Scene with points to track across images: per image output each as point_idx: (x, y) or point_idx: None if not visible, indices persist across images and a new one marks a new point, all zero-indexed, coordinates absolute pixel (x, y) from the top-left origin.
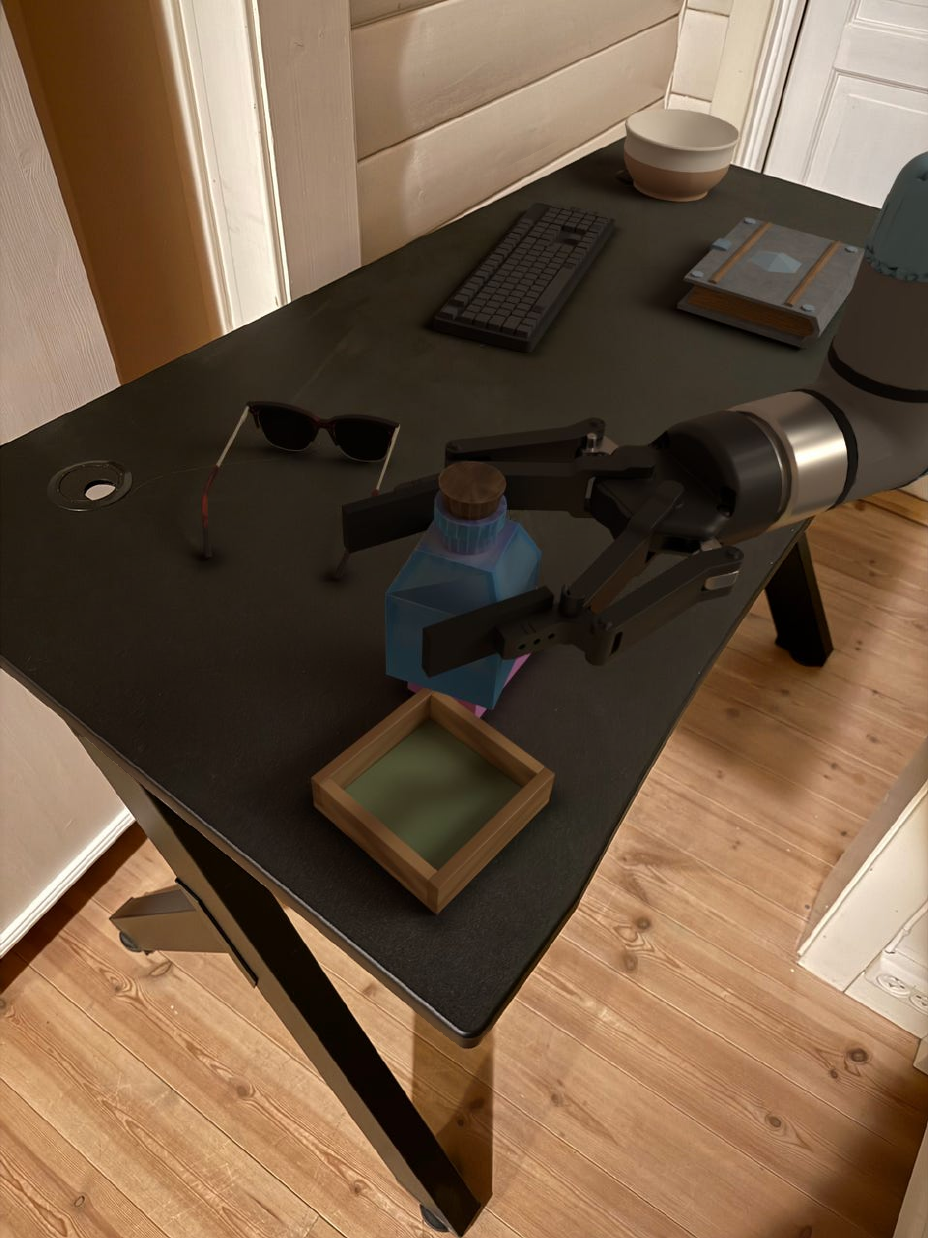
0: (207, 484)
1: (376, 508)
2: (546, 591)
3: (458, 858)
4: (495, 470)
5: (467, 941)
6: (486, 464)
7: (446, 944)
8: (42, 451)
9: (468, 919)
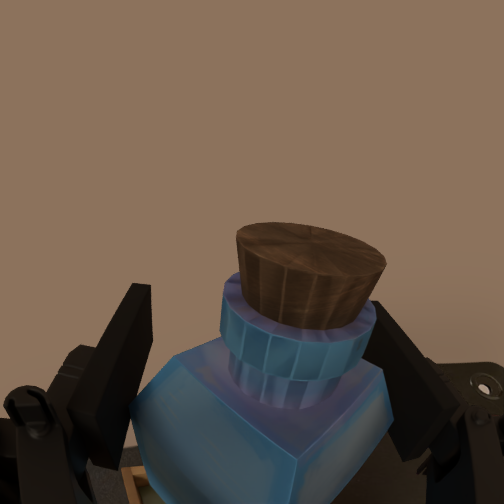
0: (495, 415)
1: (377, 323)
2: (83, 406)
3: (131, 489)
4: (350, 271)
5: (103, 486)
6: (376, 270)
7: (109, 477)
8: (498, 369)
9: (114, 495)
